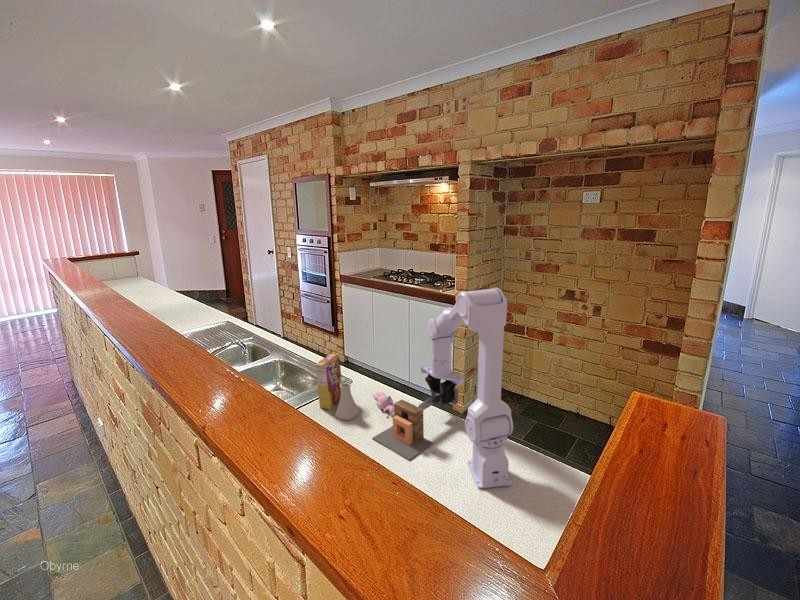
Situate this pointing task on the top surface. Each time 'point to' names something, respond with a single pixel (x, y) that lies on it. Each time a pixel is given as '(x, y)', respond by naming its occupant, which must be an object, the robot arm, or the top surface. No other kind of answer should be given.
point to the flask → (346, 404)
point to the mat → (401, 444)
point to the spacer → (397, 432)
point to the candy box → (329, 381)
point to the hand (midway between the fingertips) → (441, 400)
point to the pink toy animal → (384, 402)
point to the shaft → (438, 399)
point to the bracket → (411, 418)
